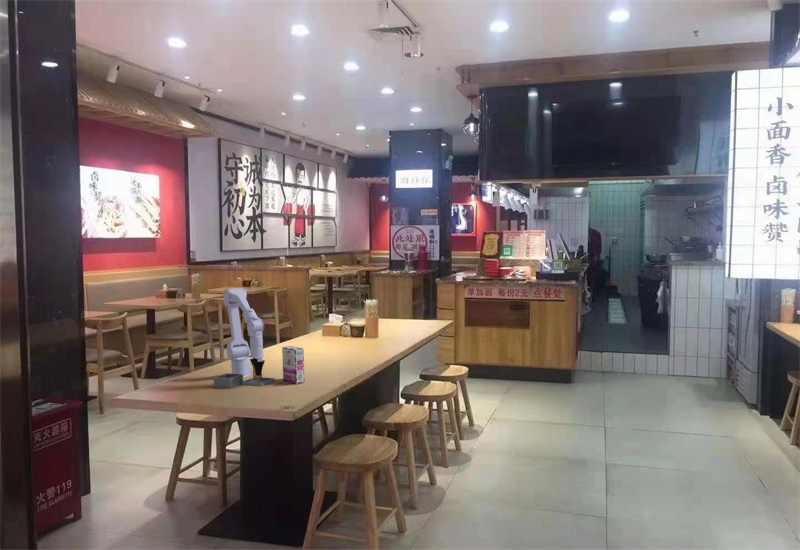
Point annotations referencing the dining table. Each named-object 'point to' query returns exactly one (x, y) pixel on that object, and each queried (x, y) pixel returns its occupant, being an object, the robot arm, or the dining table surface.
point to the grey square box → (228, 380)
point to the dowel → (256, 376)
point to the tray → (258, 381)
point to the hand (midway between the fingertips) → (257, 374)
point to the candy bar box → (293, 364)
